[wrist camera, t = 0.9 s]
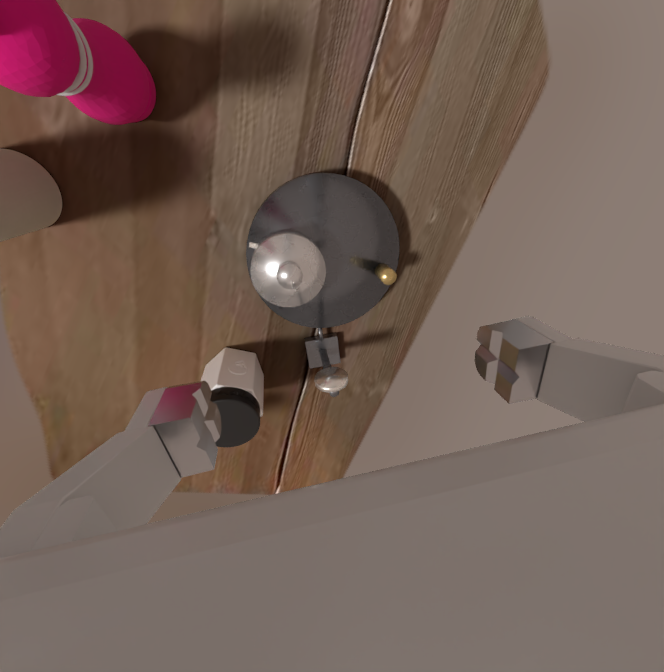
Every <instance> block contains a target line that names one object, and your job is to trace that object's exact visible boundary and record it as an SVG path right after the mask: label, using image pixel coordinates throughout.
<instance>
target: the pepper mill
mask: <svg viewBox="0 0 664 672" xmlns="http://www.w3.org/2000/svg"><path fill="white" fill-rule="evenodd" d="M0 85H2V86H4V87H7V88H9V89H11V90H13V91H16V92H19V93H22V94H25V95H30V96H36V97H51V96H54V95H61V96H66V97H67V98H68V99H69V100H70V101H71V102H72V103H73V104H74V105H75V106H76V107H77V108H78V109H79V110H81V111H82V112H83V113H85V114H87V115H88V116H90V117H92V118H94V119H96V120H99V121H101V122H104V123H108V124H113V125H122V124H127V123H134V122H139V121H142V120H144V119H145V118H147V117H148V116H149V115H150V114H151V112H152V110H153V108H154V106H155V102H156V89H155V84H154V81H153V78H152V76H151V74H150V72H149V70H148V68H147V67H146V65H145V64H144V63H143V62H142V60H141V59H140V58H139V56H138V54H137V53H136V52H135V50H134V49H133V47H132V46H131V45H130V44H129V43H128V42H127V41H126V40H125V39H124V38H123V37H122V36H121V35H120V34H118V33H117V32H115V31H114V30H112V29H110V28H109V27H107V26H106V25H103V24H101V23H99V22H97V21H94V20H90V19H84V18H75V19H71V18H70V17H69V16H68V15H67V14H66V13H65V12H64V11H63V10H62V9H61V8H60V6H59V5H58V3H57V2H56V0H0Z"/></svg>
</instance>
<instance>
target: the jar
mask: <svg viewBox="0 0 664 672" xmlns="http://www.w3.org/2000/svg"><path fill="white" fill-rule="evenodd" d="M201 381H206V382H207V383H208V384H209V387H210V389H211V391H212V394H211V399H210V401H212V402H213V403H215V404H216V405H217V407H218V410H219V413H220V417H221V435H220V438H219V439H218V440H217V441H216V442H215V444H216V446H217V447H234V446H239V445H242V444H244V443H246V442H248V441H249V440H251V439H252V438H253V437H254V436H255V435H256V433H257V432H258V430H259V427H260V417H261V416H262V415H263V393H264V374H263V372H262V369H261V366H260V364H259V361H258V358H257V356H256V353H252V352H247V351H242V350H237V349H232V348H227V347H226V348H224V349H223V350H222V351H221V352H220V353H219V354H218V355H216V356H215V357H214V358H213V359H212V360H211V361H210V362H209V363H208V364H207V365H206V366H205V369H204V372H203V376H202V379H201Z"/></svg>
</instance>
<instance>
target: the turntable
mask: <svg viewBox="0 0 664 672" xmlns="http://www.w3.org/2000/svg"><path fill="white" fill-rule="evenodd" d="M284 229H288V230H295V231H298V232H301V233H303V234H305V235H306V236H308V237H309V238H310V239H312V240H313V242H314V243H315V244H316V246H317V247H318V249H319V251H320V252H321V254H322V256H323V259H324V262H325V266H326V277H325V281H324V284H323V286H322V288H321V290H320V291H319V293H318V294H317V295H316V296H315V297H314V298H313V299H312V300H310V301H309V302H307V303H305V304H303V305H300V306H296V307H281V306H277V305H274V304H272V303H270V302H268V301H267V300H265V299H264V298H263V297H262V296H261V295H260V294H259V293H258V292H257V293H258V294H259V296H260V297H261V299H262V300H263V301H264V302H265V303H266V304H267V306H268V307H269V308H270V309H272V310H273V311H274V312H275V313H276V314H278V315H280V316H281V317H283V318H284V319H286V320H288V321H290V322H293V323H296V324H299V325H302V326H307V327H315V328H327V327H334V326H339V325H342V324H346V323H348V322H351V321H353V320H355V319H357V318H359V317H361V316H362V315H364V314H365V313H366V312H368V311H369V310H370V309H372V308H373V307H374V306H375V305H376V304H377V303H378V302H379V301H380V299H381V298H382V297H383V296H384V294H385V293H386V291H387V290H388V288H389V286H390V285H391V284H393V283H394V282H395V281H396V278H397V275H396V269H397V265H398V260H399V236H398V231H397V227H396V224H395V221H394V218H393V216H392V214H391V212H390V210H389V209H388V207H387V205H386V204H385V203H384V201H383V200H382V199H381V198H380V197H379V196H378V195H377V194H376V193H375V192H374V191H373V190H372V189H370V188H369V187H368V186H366V185H365V184H363V183H361V182H359V181H357V180H355V179H353V178H350V177H347V176H344V175H339V174H334V173H312V174H307V175H303V176H299V177H297V178H294V179H292V180H290V181H288V182H286V183H285V184H283V185H281V186H280V187H278V188H277V189H276V190H275V191H274V192H272V193H271V194H270V195H269V196H268V198H267V199H266V200H265V201H264V202H263V204H262V205H261V207H260V208H259V209H258V211H257V213H256V215H255V217H254V219H253V222H252V225H251V228H250V231H249V235H248V240H247V251H246V257H247V266H248V271H249V275H250V278H251V261H252V256H253V252H254V250H255V248H256V246H257V244H258V243H259V242H260V241H261V240H262V239H263V238H264V237H265V236H266V235H268V234H270V233H272V232H274V231H278V230H284ZM251 280H252V279H251ZM252 283H253V282H252ZM256 291H257V290H256Z"/></svg>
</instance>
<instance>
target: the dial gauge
mask: <svg viewBox="0 0 664 672" xmlns="http://www.w3.org/2000/svg"><path fill="white" fill-rule="evenodd" d="M318 333H319V336H314V337H308V338H304V339H305V345H306V350H307V356H308V362H309V367H310V368H316V367H321V366H323V369H322V370H320V371H319V372H318V373H317V374H316V375H315V385H316V387H317V388H318V389H319V390H320V391H323V392H330V395H331V396H332V397H336V396H337V395H338V394H339V390H342V389H343V388H344V387H346V385H347V384H348V374H347V372H346V371H345V370H344V369H342V368H339V367H331V364H337V363H340V355H339V347H338V338H337V334H336V333H330V334H325V335H323V333H322V328H318Z"/></svg>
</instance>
